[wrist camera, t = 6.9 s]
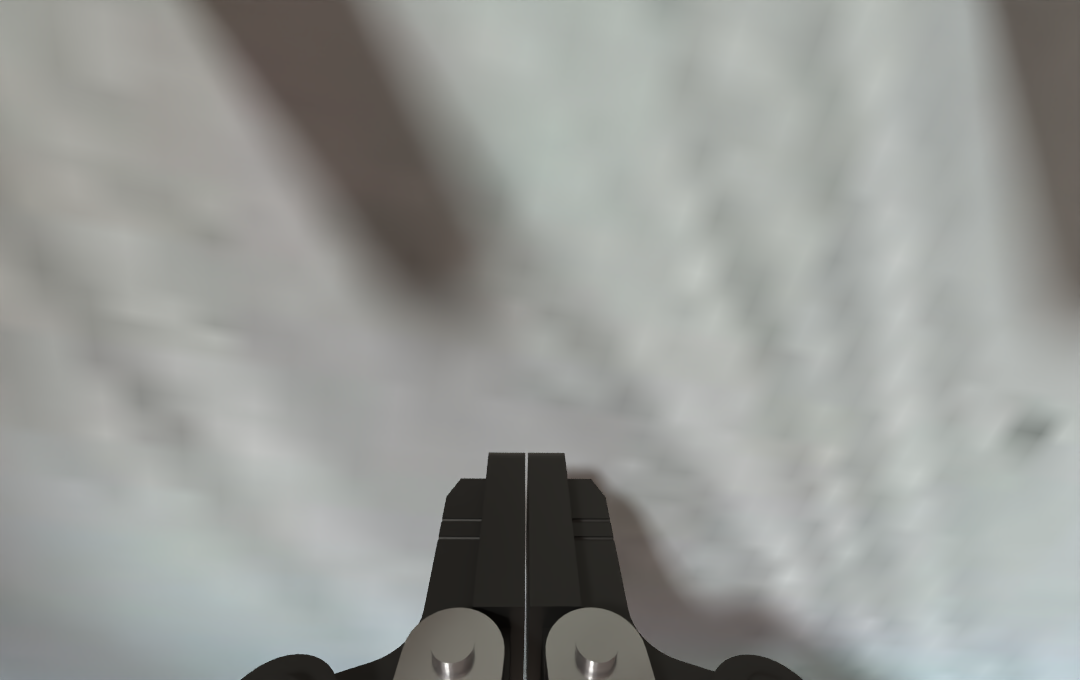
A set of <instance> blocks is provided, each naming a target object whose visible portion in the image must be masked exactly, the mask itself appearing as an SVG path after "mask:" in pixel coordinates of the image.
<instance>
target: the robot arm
mask: <svg viewBox="0 0 1080 680" xmlns="http://www.w3.org/2000/svg"><path fill="white" fill-rule="evenodd" d="M524 621H525V453H489V456H488V465H487V474H486V479H460V481H459V482H458V483H457V484H456V486H455V487H454V488H453V489H452V491H451V492H450V493H449V494H448V495H447V497H446V502H445V507H444V512H443V517H442V522H441V527H440V532H439V540H438V542H437V547H436V552H435V557H434V562H433V567H432V572H431V577H430V582H429V587H428V592H427V597H426V602H425V607H424V611H423V615H422V618H421V620H420V622H419V624H418V625H417V626H416V627H415V628H414V629H413V630H412V631H411V633H410V634H409V636H408V638H407V639H406V641H405V642H404V643H403V644H402V645H401V646H400V647H399V648H397V649H396V650H394V651H393V652H392V653H390V654H388V655H386V656H384V657H383V658H381V659H378V660H376V661H373V662H370V663H367V664H364V665H361V666H358V667H355V668H351V669H348V670H345V671H342V672H339V673H336V674H334V672H333V670H332V669H331V668H330V666H329V665H328V664H327V663H325V662H324V661H323V660H321V659H319V658H317V657H315V656H310V655H304V654H295V655H287V656H283V657H279V658H276V659H274V660H271V661H269V662H267V663H265V664H263V665H261V666H259V667H258V668H256V669H255V670H253V671H252V672H250V673H249V674H247V675H246V676H245V677H244V678H242V679H241V680H523V662H524ZM526 679H527V680H803V679H801V678H800V677H799V676H798V675H796V674H795V673H794V672H792V671H791V670H789V669H788V668H787V667H785V666H783V665H781V664H779V663H778V662H776V661H773V660H771V659H768V658H765V657H761V656H756V655H739V656H735V657H732V658H729V659H727V660H725V661H724V662H723V663H722V664H720V665H719V667H718V668H717V669H716V671H715V672H714V671H711V670H707V669H704V668H701V667H698V666H695V665H691V664H688V663H685V662H682V661H679V660H676V659H674V658H671V657H669V656H667V655H665V654H663V653H661V652H660V651H658V650H657V649H656V648H654V647H653V646H652V645H650V644H649V643H648V642H647V641H646V640H645V639H644V638H643V637H642V636H641V634H640V633H639V632H638V630H637V629H636V627H635V626H634V624H633V622H632V620H631V618H630V615H629V611H628V607H627V602H626V597H625V592H624V587H623V582H622V577H621V572H620V567H619V562H618V557H617V552H616V547H615V543H614V541H613V533H612V528H611V523H610V518H609V513H608V508H607V503H606V498H605V496H604V495H603V494H602V492H601V491H600V490H599V489H598V487H597V486H596V485H595V484H594V482H593V481H592V480H591V479H567V471H566V462H565V454H564V453H528V479H527V523H526Z"/></svg>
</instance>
